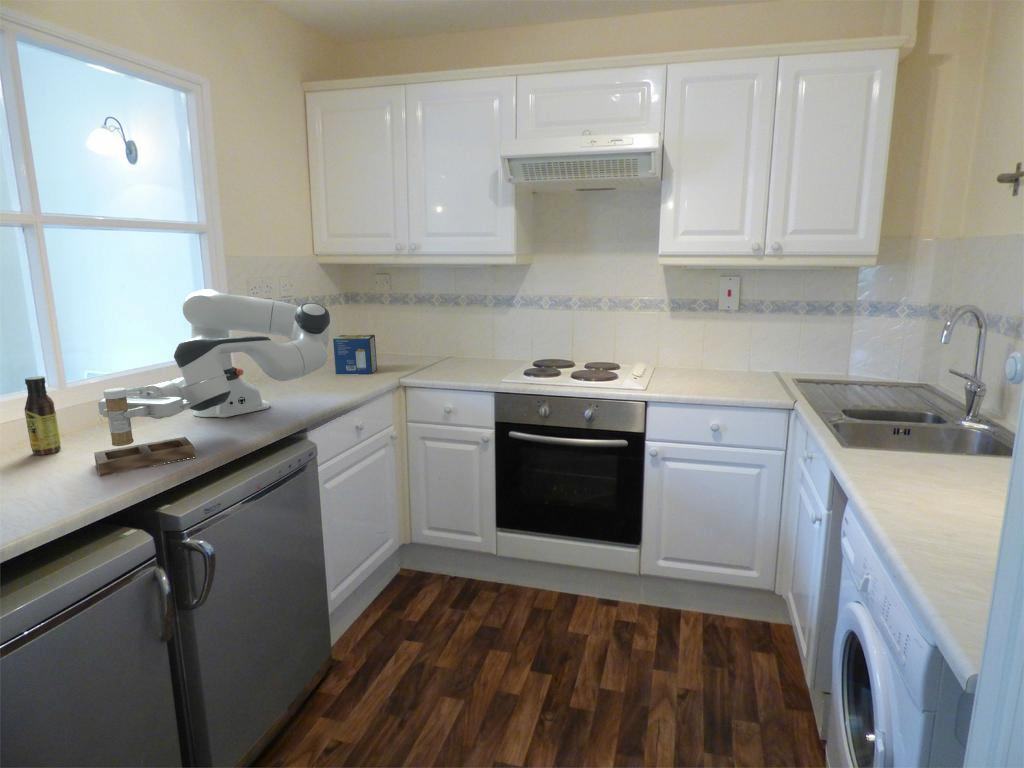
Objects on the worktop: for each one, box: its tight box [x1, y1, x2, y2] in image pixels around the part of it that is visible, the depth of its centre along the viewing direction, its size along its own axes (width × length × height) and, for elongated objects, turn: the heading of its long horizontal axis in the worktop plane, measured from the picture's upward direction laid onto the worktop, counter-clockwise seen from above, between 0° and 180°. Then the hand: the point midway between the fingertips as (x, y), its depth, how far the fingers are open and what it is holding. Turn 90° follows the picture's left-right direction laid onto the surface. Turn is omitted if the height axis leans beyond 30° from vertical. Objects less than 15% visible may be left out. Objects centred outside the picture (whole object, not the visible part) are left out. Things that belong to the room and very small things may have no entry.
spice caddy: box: [93, 436, 196, 477], centre depth 152 cm, size 20×11×3 cm, turn 128°
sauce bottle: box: [23, 375, 62, 456], centre depth 159 cm, size 6×6×20 cm
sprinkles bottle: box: [103, 387, 135, 447], centre depth 147 cm, size 5×5×13 cm
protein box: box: [332, 334, 378, 375], centre depth 263 cm, size 10×15×16 cm
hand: (115, 414), depth 146 cm, fingers closed on sprinkles bottle, 4 cm apart
